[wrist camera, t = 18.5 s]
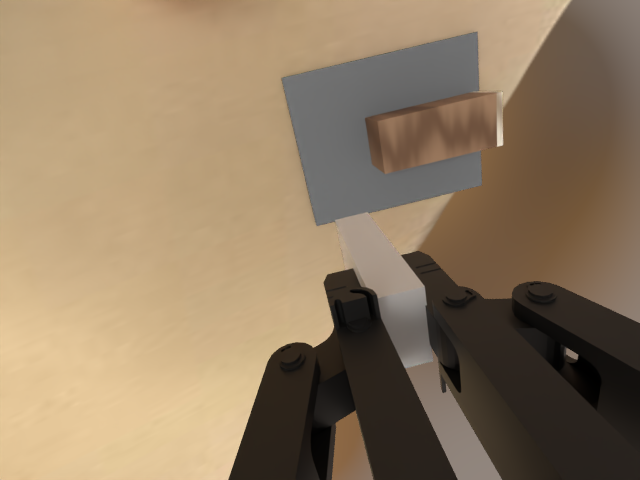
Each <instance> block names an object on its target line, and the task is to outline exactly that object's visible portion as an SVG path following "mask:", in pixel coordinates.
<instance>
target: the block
mask: <svg viewBox="0 0 640 480" xmlns="http://www.w3.org/2000/svg"><path fill="white" fill-rule="evenodd" d="M365 122H366V129H367V135H368V142H369V148H370V154H371V161H372V165H374V166H375V167H376V168H378V169H379V170H380V171H382V172H383V173H384V174H387V173H391V172H395V171H399V170H403V169H407V168H412V167H416V166H420V165H424V164H428V163H432V162H436V161H440V160H444V159H448V158H452V157H457V156H461V155H465V154H469V153H473V152H477V151H481V150H485V149H489V148H493V147H497V146H501V145H503V91H474V92H470V93H465V94H461V95H457V96H453V97H449V98H445V99H441V100H436V101H432V102H428V103H424V104H420V105H416V106H411V107H407V108H403V109H399V110H395V111H391V112H386V113H382V114H378V115H374V116H370V117H366V118H365Z"/></svg>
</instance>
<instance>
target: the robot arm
mask: <svg viewBox="0 0 640 480" xmlns="http://www.w3.org/2000/svg"><path fill="white" fill-rule="evenodd" d="M335 223H336V227H337V232H338V237H339V241H340V246H341V251H342V256H343V260H344V265H345V270H344V271H340V272H336V273H332V274H328V275H327V277H326V279H325V281H324V286H325V290H326V294H327V298H328V303H329V307H330V311H331V315H332V319H333V323H334V329H333V332H332V334H331V335H330V337H329V338H328V339H327V340H326V341H324V342H323V343H321V344H320V345H318V346H316V347H314V348H313V347H312V346H311V345H308V344H306V343H298V342H296V343H291V344H287V345H285V346H283V347H281V348H279V349H278V350H277V351H276V352H274V353H273V354H272V355H271V357H270V359H269V361H268V363H267V366H266V369H265V372H264V375H263V378H262V381H261V384H260V387H259V390H258V393H257V396H256V399H255V402H254V405H253V408H252V411H251V414H250V417H249V420H248V423H247V426H246V429H245V432H244V435H243V438H242V441H241V444H240V447H239V450H238V453H237V456H236V459H235V462H234V465H233V468H232V471H231V474H230V477H229V480H332V469H333V457H334V445H335V433H336V425H335V423H336V422H337V421H339V420H340V419H342V418H344V417H346V416H347V415H349V414H350V413H352V412H354V411H355V410H356V414H357V418H358V421H359V425H360V429H361V433H362V437H363V441H364V445H365V449H366V453H367V456H368V460H369V464H370V468H371V472H372V476H373V480H457V477H456V475H455V473H454V471H453V469H452V467H451V465H450V463H449V461H448V458H447V456H446V454H445V452H444V450H443V448H442V446H441V444H440V441H439V440H438V437H437V435H436V433H435V431H434V429H433V427H432V425H431V423H430V421H429V418H428V416H427V414H426V412H425V410H424V408H423V406H422V403H421V401H420V400H419V397H418V395H417V393H416V391H415V389H414V387H413V385H412V383H411V381H410V378H409V376H408V374H407V372H406V370H405V368H408V367H412V366H416V365H420V364H424V363H428V362H432V361H433V357H432V349H433V351H434V352H435V354H436V355H437V357H438V363H439V374H440V383H441V389H442V392H443V393H444V392H446V384H447V386H448V387H449V389H450V391H451V392H452V394H453V396H454V398H455V399H456V401H457V402H458V404H459V406H460V408H461V409H462V411H463V413H464V415H465V416H466V418H467V420H468V421H469V423H470V425H471V427H472V428H473V430H474V432H475V434H476V435H477V437H478V439H479V440H480V442H481V444H482V445H483V447H484V449H485V451H486V452H487V454H488V456H489V457H490V459H491V461H492V463H493V464H494V466H495V468H496V470H497V471H498V473H499V475H500V476H501V478H502V480H640V323H638V322H636V321H634V320H632V319H629V318H627V317H625V316H623V315H621V314H619V313H616V312H614V311H612V310H610V309H608V308H606V307H603V306H601V305H599V304H597V303H595V302H592V301H590V300H588V299H586V298H584V297H582V296H579V295H577V294H575V293H573V292H571V291H568V290H566V289H564V288H562V287H560V286H557V285H554V284H551V283H546V282H539V281H534V282H526V283H523V284H519V285H518V286H517V287H515V288H514V290H513V292H512V298H511V299H484V298H483V297H482V296H481V295H480V294H479V293H477V292H476V291H474V290H473V289H470V288H467V287H460V286H457V285H456V284H455V282H454V281H453V280H452V279H451V278H450V277H449V276H448V275H447V274H446V273H445V272H444V271H443V270H442V269H441V268H440V266H439V265H438V264H436V262H435V261H434V260H433V259H432V258H431V257H430V256H429V255H427V254H424V253H422V252H420V251H416V252H412V253H408V254H404V255H400V254H399V252H398V251H397V250H396V248H395V247H394V246H393V244H392V243H391V242H390V241H389V239H388V238H387V237H386V235H385V234H384V233H383V231H382V230H381V229H380V228H379V226H378V225H377V224H376V222H375V221H374V220H373V218H372V217H371V216H370V215H369V213H368V212H366V213H362V214H357V215H353V216H349V217H345V218H341V219H337V220H335ZM431 347H432V348H431ZM566 348H568V349H570V350H572V351H573V352H575V353H577V354H578V360H576V359H573V358H571V357H569V356H568V355H566Z"/></svg>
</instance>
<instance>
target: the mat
mask: <svg viewBox="0 0 640 480" xmlns="http://www.w3.org/2000/svg"><path fill="white" fill-rule="evenodd" d="M281 79H282V83H283V87H284V91H285V95H286V100H287V104H288V108H289V112H290V116H291V121H292V125H293V129H294V133H295V137H296V142H297V146H298V150H299V154H300V159H301V163H302V167H303V171H304V175H305V180H306V184H307V188H308V192H309V196H310V201H311V205H312V209H313V213H314V217H315V222H316V226H319V225H323V224H327V223H331V222H335V220H337V219H341V218H345V217H349V216H353V215H357V214H362V213H366V212H368V213H372V212H376V211H380V210H384V209H388V208H392V207H396V206H400V205H404V204H408V203H412V202H416V201H420V200H424V199H428V198H432V197H436V196H440V195H444V194H449V193H453V192H457V191H461V190H464V189H469V188H473V187H477V186H481V185H482V175H481V173H482V172H481V151H477V152H473V153H469V154H465V155H461V156H457V157H452V158H448V159H444V160H440V161H436V162H432V163H428V164H424V165H420V166H416V167H412V168H407V169H403V170H399V171H395V172H391V173H387V174H384V173H383V172H382V171H380V170H379V169H378V168H376V167H375V166H374V165H372V161H371V154H370V148H369V142H368V135H367V129H366V122H365V118H366V117H370V116H374V115H378V114H382V113H386V112H391V111H395V110H399V109H403V108H407V107H411V106H416V105H420V104H424V103H428V102H432V101H436V100H441V99H445V98H449V97H453V96H457V95H461V94H465V93H470V92H474V91H479V70H478V35H477V32H474V33H470V34H466V35H461V36H457V37H453V38H449V39H444V40H440V41H436V42H432V43H428V44H423V45H419V46H415V47H411V48H406V49H402V50H398V51H394V52H390V53H385V54H381V55H377V56H373V57H368V58H364V59H360V60H356V61H351V62H347V63H343V64H339V65H335V66H330V67H326V68H322V69H318V70H313V71H309V72H305V73H301V74H297V75H292V76H288V77H284V78H281Z"/></svg>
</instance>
